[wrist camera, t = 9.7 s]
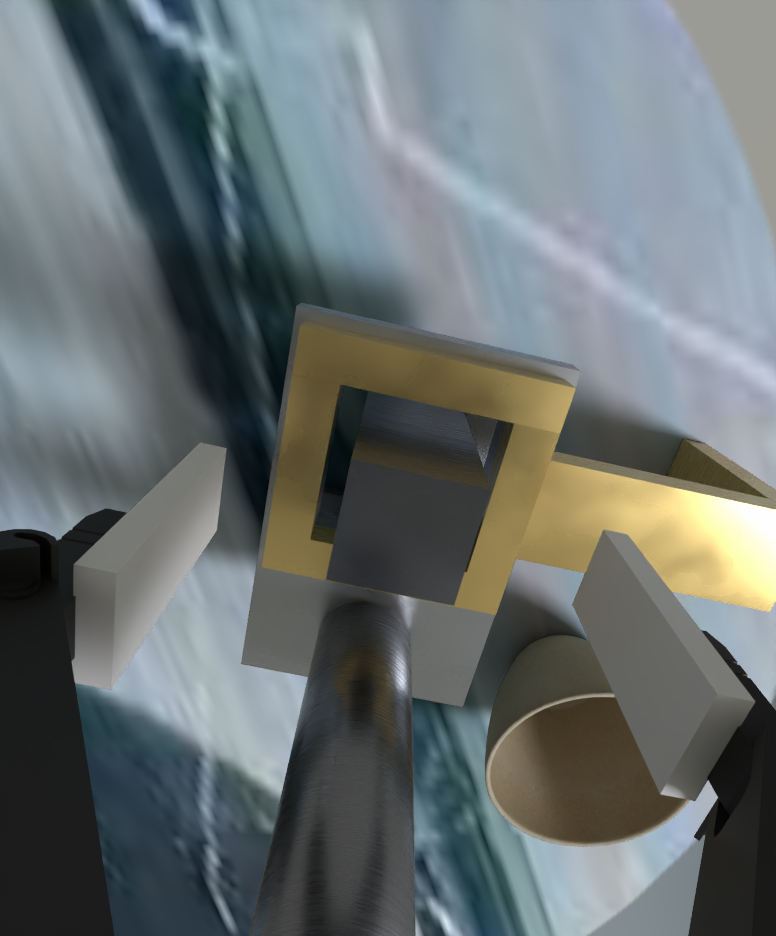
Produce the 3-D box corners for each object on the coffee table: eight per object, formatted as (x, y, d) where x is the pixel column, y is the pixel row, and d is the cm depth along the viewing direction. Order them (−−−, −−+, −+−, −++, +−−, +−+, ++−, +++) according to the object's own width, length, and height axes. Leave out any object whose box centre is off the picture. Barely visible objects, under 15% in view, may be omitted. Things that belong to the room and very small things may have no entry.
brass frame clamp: (273, 591, 31) (25, 1235, 11) (324, 290, 25) (-15, 479, 5) (607, 658, 32) (950, 1363, 12) (733, 385, 26) (1858, 868, 6)
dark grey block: (374, 369, 27) (351, 459, 16) (455, 387, 27) (490, 489, 16) (357, 446, 28) (325, 579, 17) (435, 463, 28) (453, 605, 17)
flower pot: (491, 585, 31) (514, 678, 24) (668, 612, 31) (738, 712, 25) (454, 720, 35) (465, 834, 28) (612, 744, 35) (660, 862, 28)
